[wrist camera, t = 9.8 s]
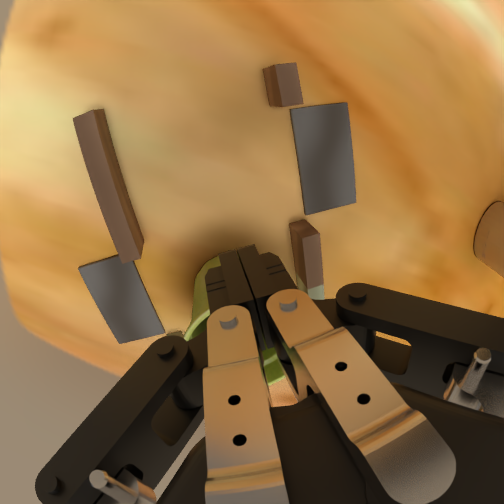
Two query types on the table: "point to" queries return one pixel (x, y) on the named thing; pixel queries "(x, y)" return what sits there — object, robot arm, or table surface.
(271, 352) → the plant pot
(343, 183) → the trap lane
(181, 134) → the table surface
